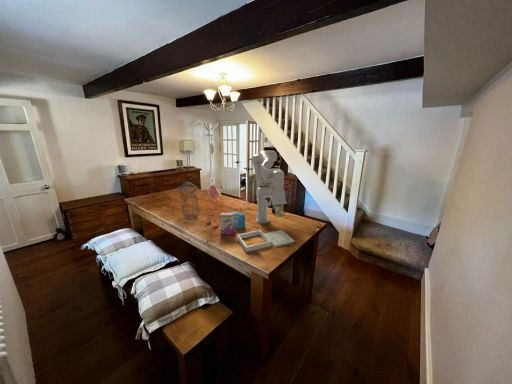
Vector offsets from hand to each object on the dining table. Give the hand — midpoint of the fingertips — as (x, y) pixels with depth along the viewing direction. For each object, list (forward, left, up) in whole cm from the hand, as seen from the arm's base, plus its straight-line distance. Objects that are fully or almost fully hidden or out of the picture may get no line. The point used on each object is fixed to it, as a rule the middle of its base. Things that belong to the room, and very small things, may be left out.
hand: (277, 212), depth 141 cm
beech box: (0, 0, -2) cm, 2 cm away
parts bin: (-3, -17, -21) cm, 28 cm away
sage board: (0, +2, -21) cm, 21 cm away
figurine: (-46, -35, -22) cm, 62 cm away
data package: (-32, -19, -22) cm, 43 cm away
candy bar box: (-24, -30, -22) cm, 44 cm away
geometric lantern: (-67, -54, -22) cm, 89 cm away
